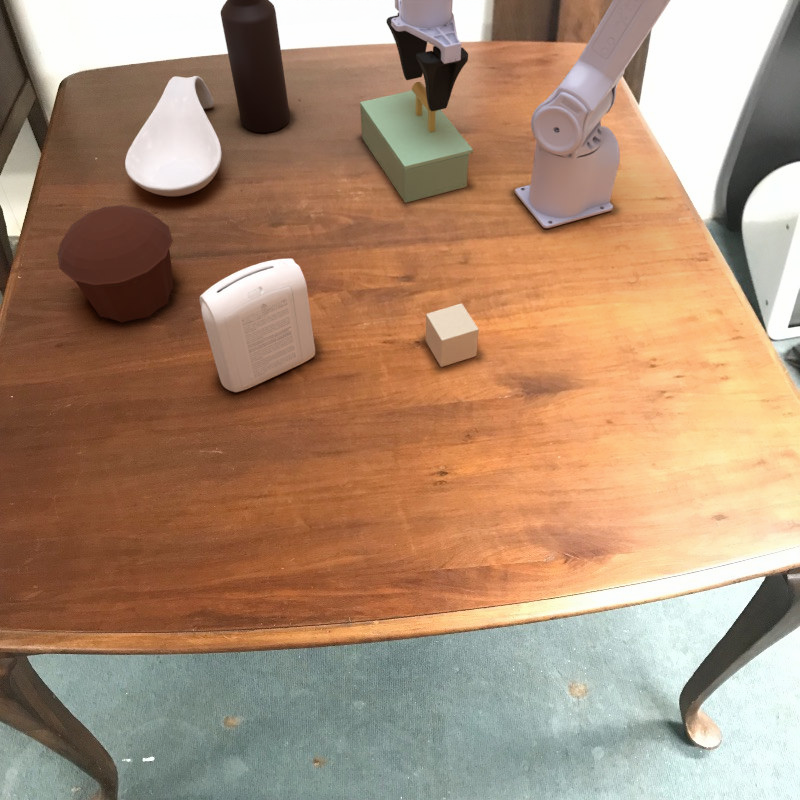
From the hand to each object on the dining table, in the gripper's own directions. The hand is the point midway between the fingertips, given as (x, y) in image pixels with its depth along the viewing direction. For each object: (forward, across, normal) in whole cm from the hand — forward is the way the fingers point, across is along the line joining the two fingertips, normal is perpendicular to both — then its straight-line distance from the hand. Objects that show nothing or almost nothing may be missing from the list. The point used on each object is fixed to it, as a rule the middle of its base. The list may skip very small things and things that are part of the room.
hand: (425, 92), depth 94 cm
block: (+9, +32, -11) cm, 35 cm away
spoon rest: (+10, -13, -29) cm, 33 cm away
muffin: (+9, +11, -40) cm, 42 cm away
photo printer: (+9, +27, -29) cm, 41 cm away
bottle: (+9, -17, -17) cm, 26 cm away
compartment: (+9, 0, -2) cm, 9 cm away
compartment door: (+4, 0, -1) cm, 5 cm away
